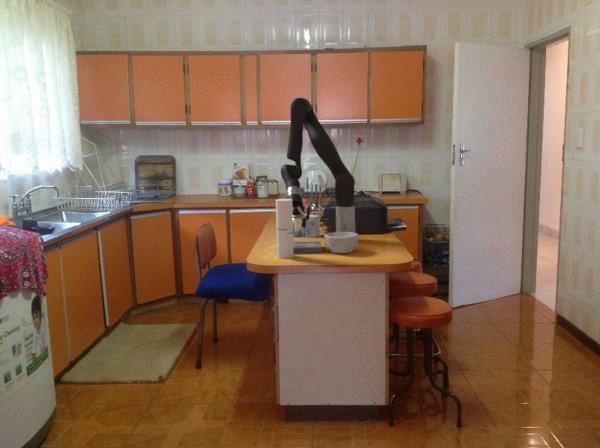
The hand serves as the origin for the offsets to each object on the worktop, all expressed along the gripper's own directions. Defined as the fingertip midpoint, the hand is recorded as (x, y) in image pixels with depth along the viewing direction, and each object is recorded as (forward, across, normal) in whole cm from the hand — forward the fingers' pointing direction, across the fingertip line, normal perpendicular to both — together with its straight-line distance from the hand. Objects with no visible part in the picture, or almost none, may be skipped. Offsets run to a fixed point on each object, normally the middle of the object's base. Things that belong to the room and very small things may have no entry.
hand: (297, 226), depth 251 cm
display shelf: (+9, +2, +6) cm, 11 cm away
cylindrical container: (+17, -7, -2) cm, 18 cm away
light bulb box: (-15, +8, +30) cm, 34 cm away
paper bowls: (+13, +19, +3) cm, 23 cm away
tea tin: (+2, 0, +5) cm, 5 cm away
